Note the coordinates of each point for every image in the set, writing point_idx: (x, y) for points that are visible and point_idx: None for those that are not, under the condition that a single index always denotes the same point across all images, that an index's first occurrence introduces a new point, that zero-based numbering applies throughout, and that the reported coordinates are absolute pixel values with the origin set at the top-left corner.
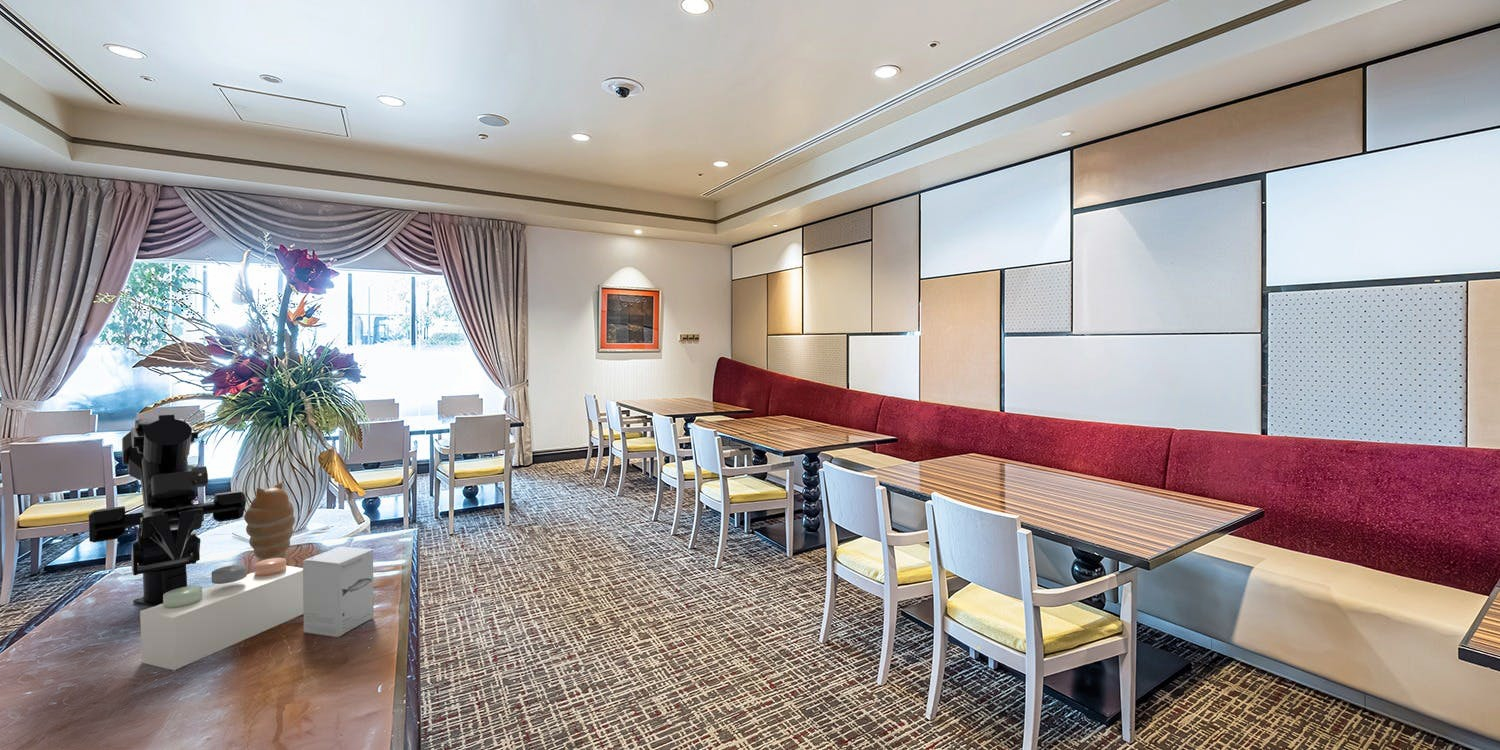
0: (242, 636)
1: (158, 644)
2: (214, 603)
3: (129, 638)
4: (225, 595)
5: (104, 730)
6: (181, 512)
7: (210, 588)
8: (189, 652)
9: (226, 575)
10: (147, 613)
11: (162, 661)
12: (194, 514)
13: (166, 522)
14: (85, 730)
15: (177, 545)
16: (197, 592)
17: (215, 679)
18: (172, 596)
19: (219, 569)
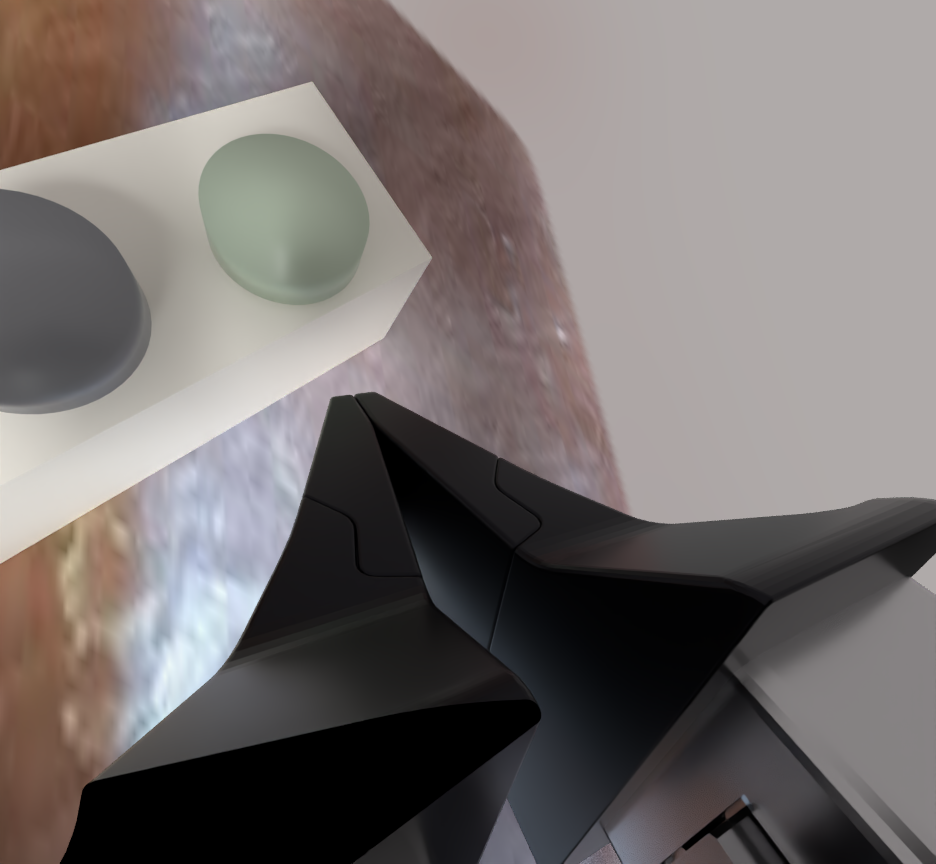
0: None
1: None
2: (151, 130)
3: None
4: (91, 187)
5: (396, 32)
6: (495, 695)
7: (171, 367)
8: None
9: (34, 200)
10: (404, 218)
11: None
12: (103, 775)
13: (617, 559)
14: (427, 63)
15: (371, 436)
16: (220, 150)
17: (193, 75)
18: (328, 170)
19: (76, 350)
